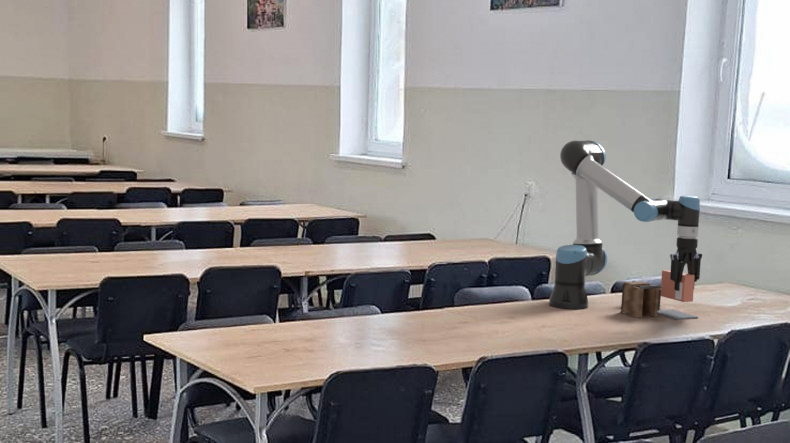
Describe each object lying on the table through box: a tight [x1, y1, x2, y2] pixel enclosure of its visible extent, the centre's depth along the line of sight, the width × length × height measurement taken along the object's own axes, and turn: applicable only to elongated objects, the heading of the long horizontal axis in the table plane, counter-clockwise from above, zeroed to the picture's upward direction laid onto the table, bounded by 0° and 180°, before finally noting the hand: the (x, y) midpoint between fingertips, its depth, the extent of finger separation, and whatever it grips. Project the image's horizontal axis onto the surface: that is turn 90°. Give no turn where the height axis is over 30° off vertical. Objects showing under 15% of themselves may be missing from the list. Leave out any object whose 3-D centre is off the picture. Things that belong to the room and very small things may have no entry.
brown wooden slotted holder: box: [620, 280, 660, 319], centre depth 373 cm, size 11×8×12 cm
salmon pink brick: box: [660, 269, 695, 303], centre depth 373 cm, size 13×4×10 cm, turn 24°
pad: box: [657, 309, 699, 321], centre depth 374 cm, size 14×10×1 cm
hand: (683, 298), depth 370 cm, fingers closed on salmon pink brick, 4 cm apart
